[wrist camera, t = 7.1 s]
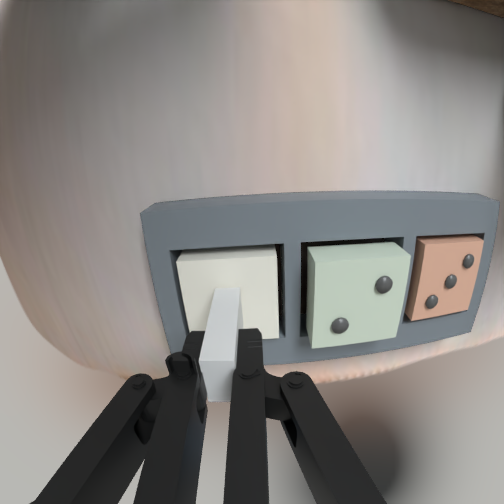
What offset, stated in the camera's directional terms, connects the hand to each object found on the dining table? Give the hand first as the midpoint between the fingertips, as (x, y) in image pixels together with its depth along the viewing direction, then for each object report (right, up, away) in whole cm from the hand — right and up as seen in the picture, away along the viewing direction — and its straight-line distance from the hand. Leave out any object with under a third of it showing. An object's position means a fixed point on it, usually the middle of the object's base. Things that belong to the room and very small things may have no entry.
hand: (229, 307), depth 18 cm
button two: (+8, +1, +1) cm, 8 cm away
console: (+8, +2, +3) cm, 9 cm away
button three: (+16, +2, +2) cm, 16 cm away
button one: (0, +1, +3) cm, 3 cm away
